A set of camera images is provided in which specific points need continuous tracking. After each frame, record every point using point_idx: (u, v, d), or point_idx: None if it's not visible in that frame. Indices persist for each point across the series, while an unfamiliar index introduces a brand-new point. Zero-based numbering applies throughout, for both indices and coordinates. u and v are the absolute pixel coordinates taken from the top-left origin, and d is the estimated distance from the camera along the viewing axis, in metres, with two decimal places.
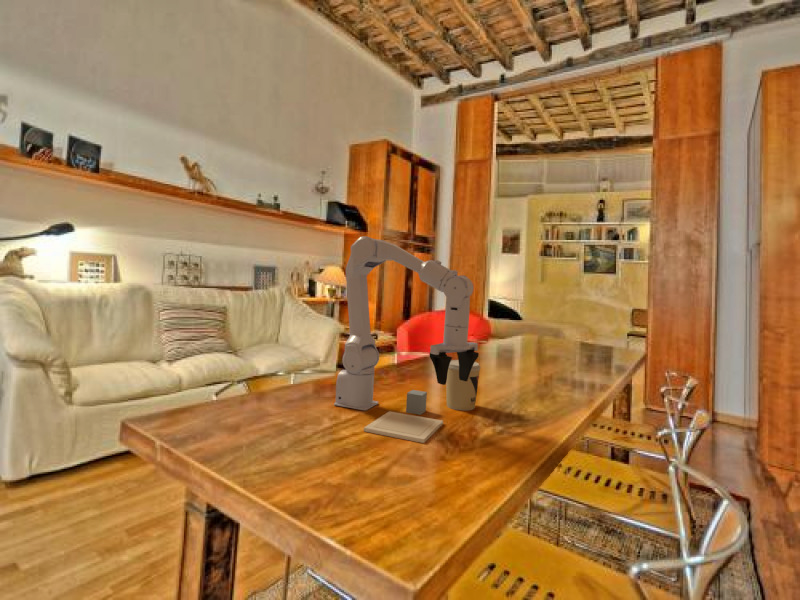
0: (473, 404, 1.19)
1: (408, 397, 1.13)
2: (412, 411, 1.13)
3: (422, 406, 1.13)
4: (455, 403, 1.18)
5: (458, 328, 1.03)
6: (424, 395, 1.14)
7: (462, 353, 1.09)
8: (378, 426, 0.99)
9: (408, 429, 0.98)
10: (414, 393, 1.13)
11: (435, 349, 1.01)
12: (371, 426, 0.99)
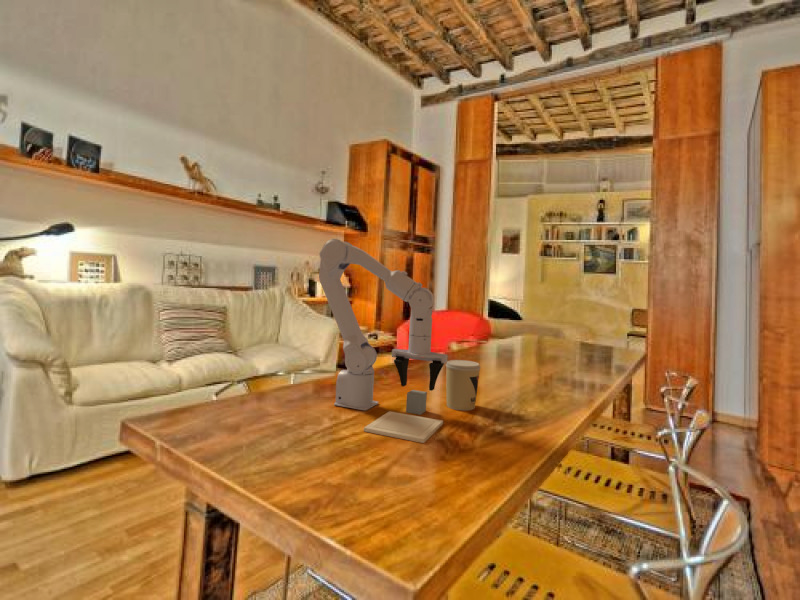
0: (473, 404, 1.19)
1: (408, 397, 1.13)
2: (412, 411, 1.13)
3: (422, 406, 1.13)
4: (455, 403, 1.18)
5: (410, 336, 1.12)
6: (424, 395, 1.14)
7: None
8: (378, 426, 0.99)
9: (408, 429, 0.98)
10: (414, 393, 1.13)
11: None
12: (371, 426, 0.99)
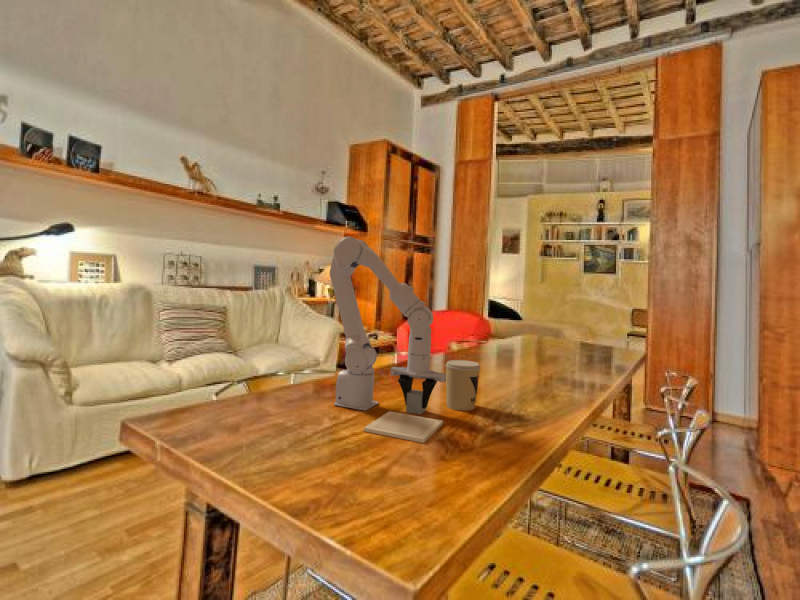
0: (473, 404, 1.19)
1: (408, 397, 1.13)
2: (412, 411, 1.13)
3: None
4: (455, 403, 1.18)
5: (409, 355, 1.12)
6: None
7: None
8: (378, 426, 0.99)
9: (408, 429, 0.98)
10: (414, 393, 1.13)
11: None
12: (371, 426, 0.99)
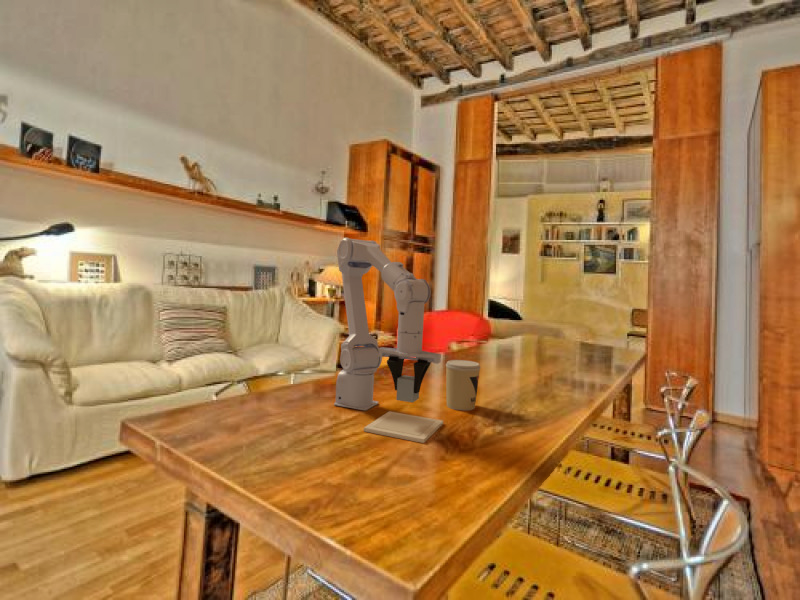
0: (473, 404, 1.19)
1: (399, 383, 1.01)
2: (403, 398, 1.00)
3: (414, 393, 1.00)
4: (455, 403, 1.18)
5: (399, 333, 0.99)
6: None
7: None
8: (378, 426, 0.99)
9: (408, 429, 0.98)
10: (405, 378, 1.01)
11: None
12: (371, 426, 0.99)
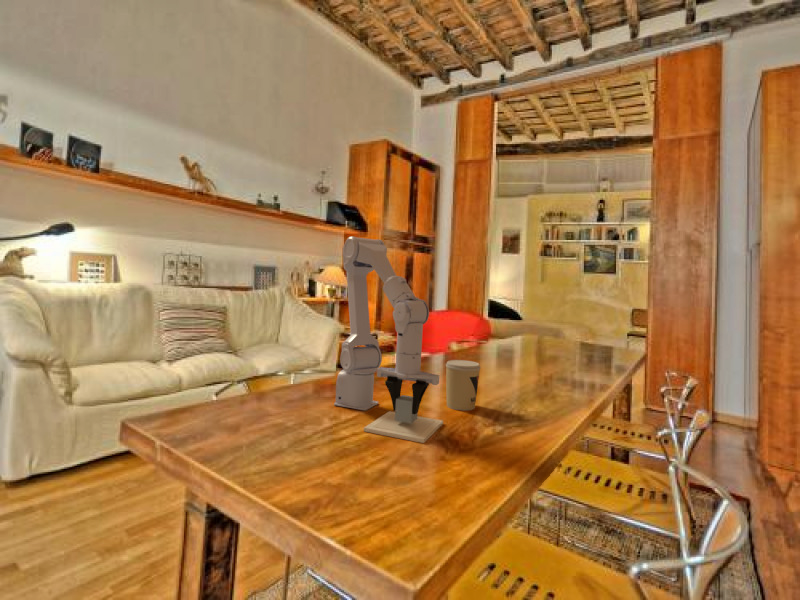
0: (473, 404, 1.19)
1: (397, 403, 1.01)
2: (402, 419, 1.00)
3: (413, 414, 1.00)
4: (455, 403, 1.18)
5: (398, 354, 0.99)
6: None
7: None
8: (378, 426, 0.99)
9: (408, 429, 0.98)
10: (404, 399, 1.01)
11: None
12: (371, 426, 0.99)
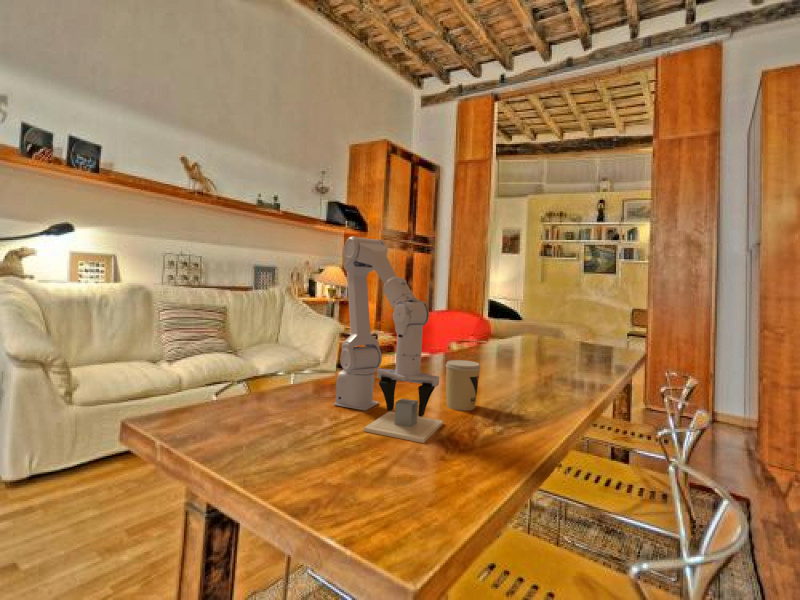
0: (473, 404, 1.19)
1: (397, 407, 1.01)
2: (401, 423, 1.00)
3: (413, 417, 1.00)
4: (455, 403, 1.18)
5: (397, 355, 0.99)
6: (415, 405, 1.01)
7: None
8: (378, 426, 0.99)
9: (408, 429, 0.98)
10: (404, 402, 1.01)
11: None
12: (371, 426, 0.99)
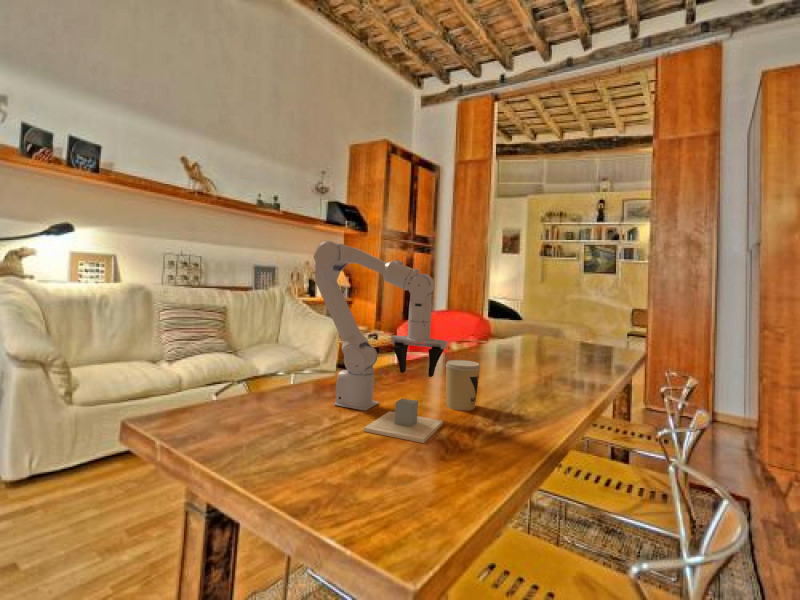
0: (473, 404, 1.19)
1: (397, 407, 1.01)
2: (401, 423, 1.00)
3: (413, 417, 1.00)
4: (455, 403, 1.18)
5: (410, 322, 1.11)
6: (415, 405, 1.01)
7: None
8: (378, 426, 0.99)
9: (408, 429, 0.98)
10: (404, 402, 1.01)
11: None
12: (371, 426, 0.99)
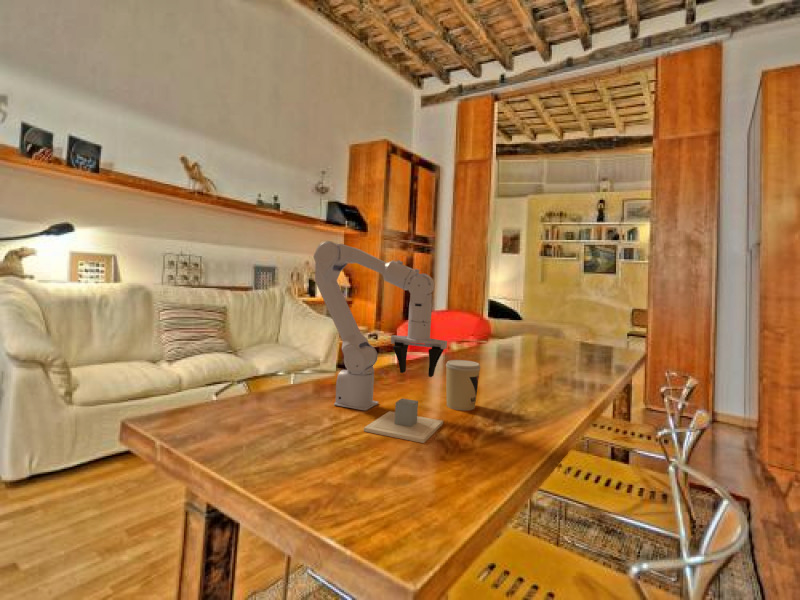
0: (473, 404, 1.19)
1: (397, 407, 1.01)
2: (401, 423, 1.00)
3: (413, 417, 1.00)
4: (455, 403, 1.18)
5: (410, 322, 1.11)
6: (415, 405, 1.01)
7: None
8: (378, 426, 0.99)
9: (408, 429, 0.98)
10: (404, 402, 1.01)
11: None
12: (371, 426, 0.99)
